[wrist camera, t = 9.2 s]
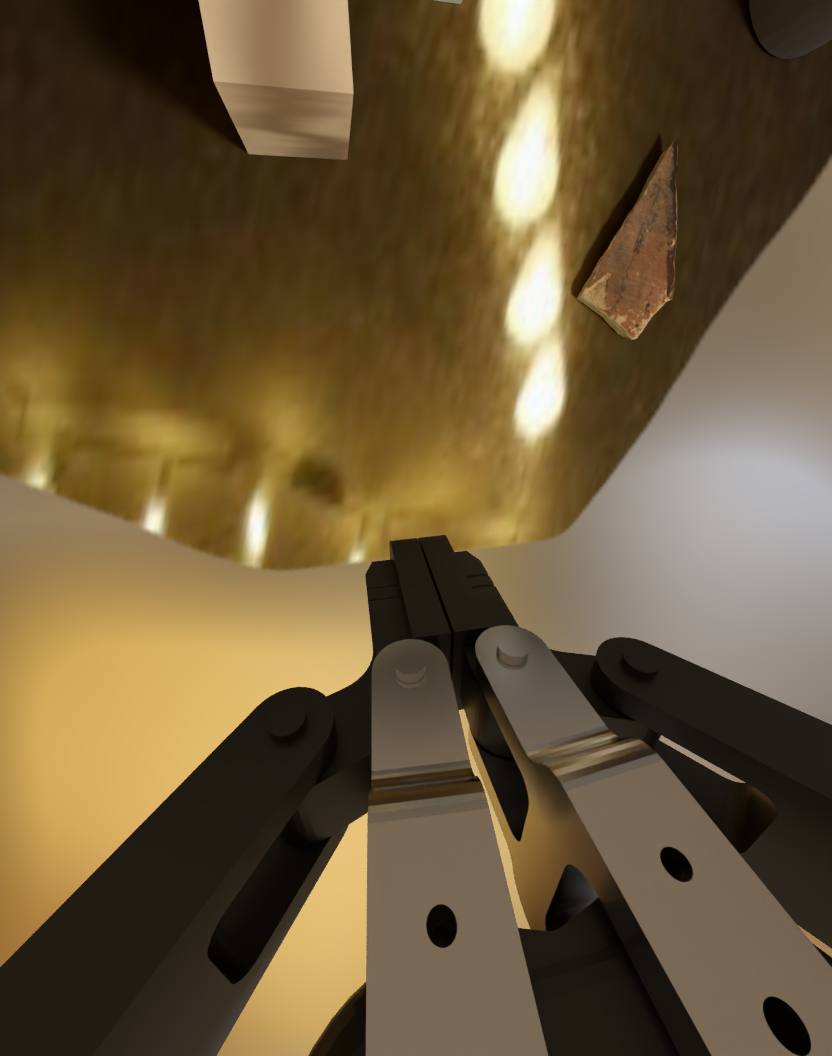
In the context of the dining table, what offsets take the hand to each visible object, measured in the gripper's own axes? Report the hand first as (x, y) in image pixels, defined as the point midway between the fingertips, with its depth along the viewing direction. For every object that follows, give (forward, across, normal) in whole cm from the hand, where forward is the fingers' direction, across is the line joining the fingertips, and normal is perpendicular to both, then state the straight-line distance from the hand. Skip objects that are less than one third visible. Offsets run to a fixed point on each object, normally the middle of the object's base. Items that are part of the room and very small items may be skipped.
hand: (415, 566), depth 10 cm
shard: (+25, -21, -10) cm, 34 cm away
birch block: (+24, +3, -18) cm, 31 cm away
